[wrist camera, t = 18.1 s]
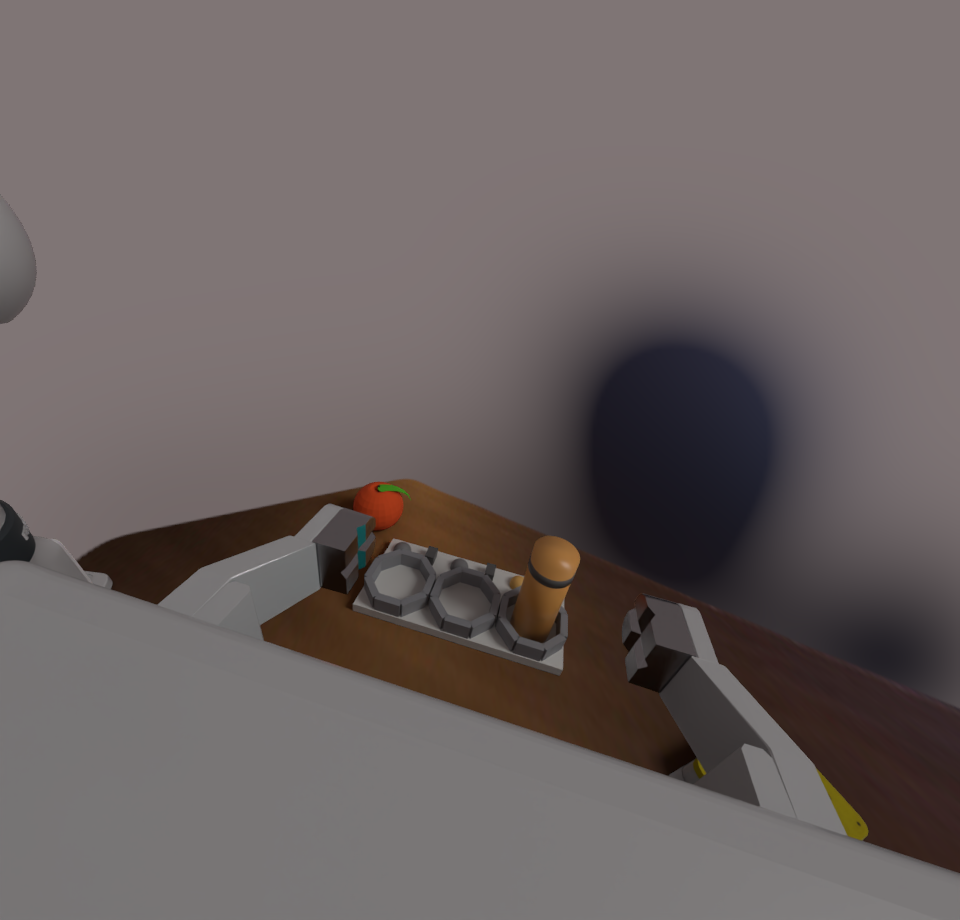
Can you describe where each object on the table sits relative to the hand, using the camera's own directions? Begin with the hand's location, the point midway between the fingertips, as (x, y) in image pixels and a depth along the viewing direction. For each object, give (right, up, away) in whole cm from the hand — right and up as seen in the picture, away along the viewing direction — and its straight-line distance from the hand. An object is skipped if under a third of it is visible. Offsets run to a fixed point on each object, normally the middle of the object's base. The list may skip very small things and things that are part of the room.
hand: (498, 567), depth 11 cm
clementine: (-15, -6, +43) cm, 46 cm away
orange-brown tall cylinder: (+5, -16, +31) cm, 35 cm away
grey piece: (-2, -14, +34) cm, 37 cm away
